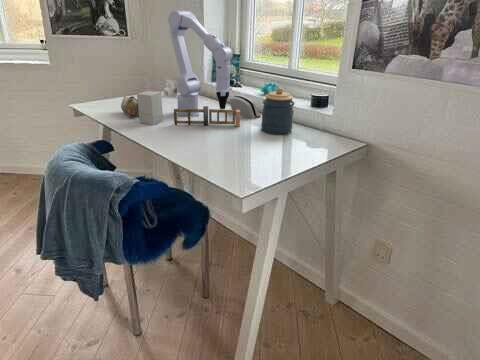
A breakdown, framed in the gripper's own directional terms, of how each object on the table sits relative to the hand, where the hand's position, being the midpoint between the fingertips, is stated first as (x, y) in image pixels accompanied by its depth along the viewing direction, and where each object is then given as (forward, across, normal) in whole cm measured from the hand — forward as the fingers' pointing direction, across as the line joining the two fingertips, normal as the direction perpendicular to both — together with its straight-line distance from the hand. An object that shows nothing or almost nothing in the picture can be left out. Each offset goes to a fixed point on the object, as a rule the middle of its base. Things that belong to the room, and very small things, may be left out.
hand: (222, 108), depth 157 cm
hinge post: (+5, -8, +7) cm, 12 cm away
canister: (+5, -13, -22) cm, 27 cm away
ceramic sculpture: (+6, +8, +40) cm, 41 cm away
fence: (+5, -8, +14) cm, 17 cm away
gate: (+5, -8, 0) cm, 9 cm away
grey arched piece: (+6, +11, -11) cm, 16 cm away
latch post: (+5, -7, -6) cm, 11 cm away
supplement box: (+6, -4, +31) cm, 31 cm away
